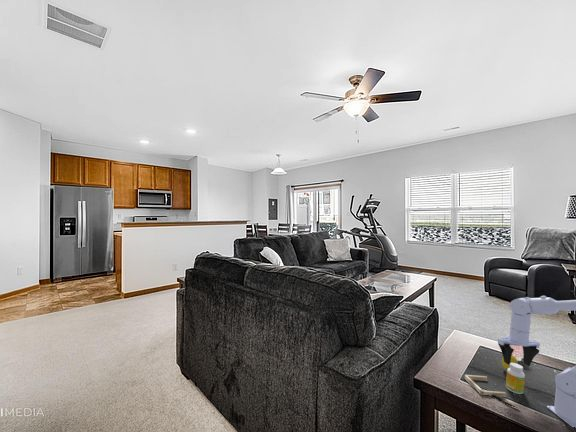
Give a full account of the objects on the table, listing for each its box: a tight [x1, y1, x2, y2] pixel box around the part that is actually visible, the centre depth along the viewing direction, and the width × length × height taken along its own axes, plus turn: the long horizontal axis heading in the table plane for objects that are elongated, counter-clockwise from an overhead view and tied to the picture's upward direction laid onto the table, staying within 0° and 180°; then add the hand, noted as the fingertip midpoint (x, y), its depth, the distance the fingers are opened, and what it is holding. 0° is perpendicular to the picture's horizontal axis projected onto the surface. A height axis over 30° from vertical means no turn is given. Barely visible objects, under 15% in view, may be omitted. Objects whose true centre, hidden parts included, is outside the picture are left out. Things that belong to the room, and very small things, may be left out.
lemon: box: [501, 355, 519, 371], centre depth 120 cm, size 6×6×8 cm
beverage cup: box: [510, 345, 523, 362], centre depth 133 cm, size 6×6×14 cm
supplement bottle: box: [505, 363, 526, 395], centre depth 107 cm, size 5×5×10 cm
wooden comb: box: [481, 388, 520, 409], centre depth 101 cm, size 14×1×2 cm, turn 31°
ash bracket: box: [463, 374, 507, 398], centre depth 107 cm, size 11×9×2 cm
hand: (516, 363), depth 107 cm, fingers open, 7 cm apart
